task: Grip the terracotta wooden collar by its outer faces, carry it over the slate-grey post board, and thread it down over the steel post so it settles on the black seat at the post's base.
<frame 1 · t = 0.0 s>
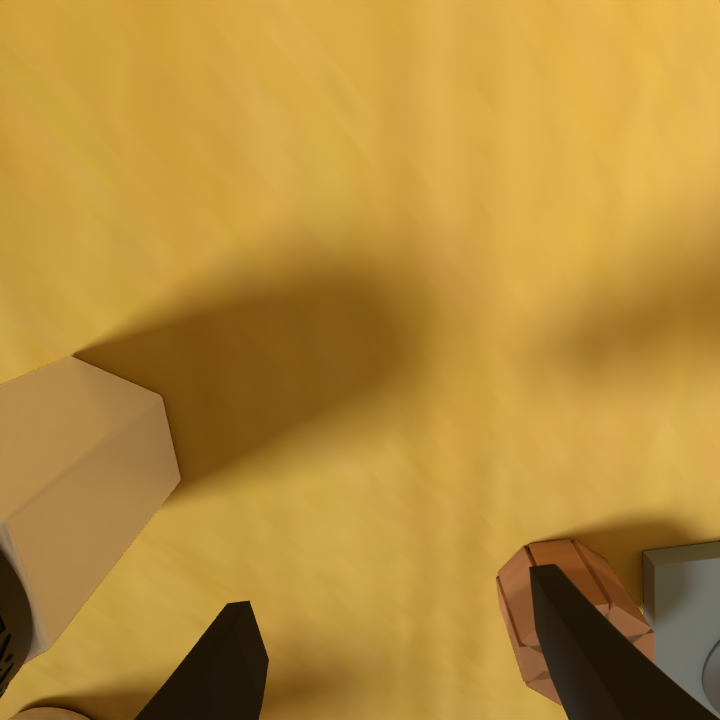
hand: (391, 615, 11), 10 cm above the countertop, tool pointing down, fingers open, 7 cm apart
collar: (552, 585, 23), on the countertop
jar: (99, 440, 22), on the countertop
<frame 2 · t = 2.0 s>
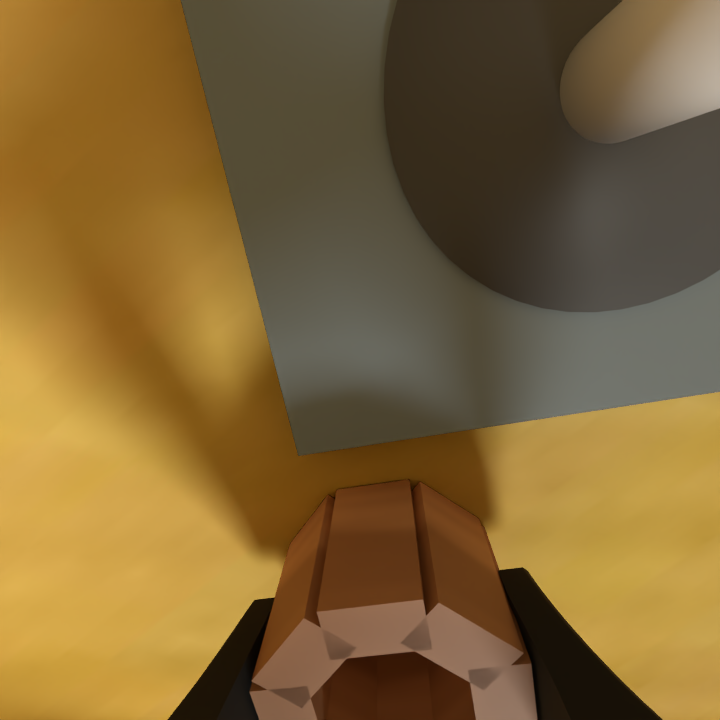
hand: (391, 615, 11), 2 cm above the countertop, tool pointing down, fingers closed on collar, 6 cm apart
post board: (586, 100, 9), on the countertop
collar: (390, 568, 13), on the countertop, touching gripper
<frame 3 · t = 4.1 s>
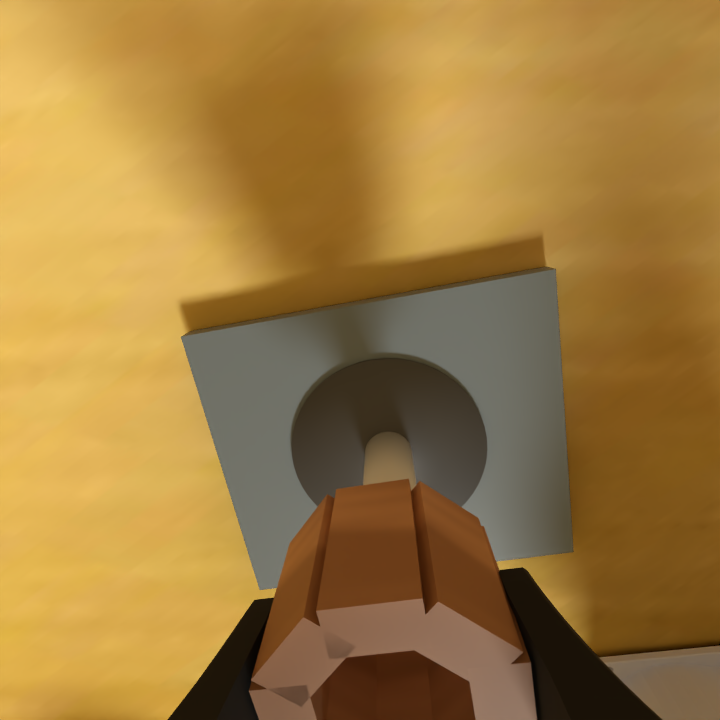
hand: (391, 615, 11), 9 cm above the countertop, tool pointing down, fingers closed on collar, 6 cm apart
post board: (387, 439, 20), on the countertop
collar: (389, 567, 13), point 8 cm above the countertop, touching gripper
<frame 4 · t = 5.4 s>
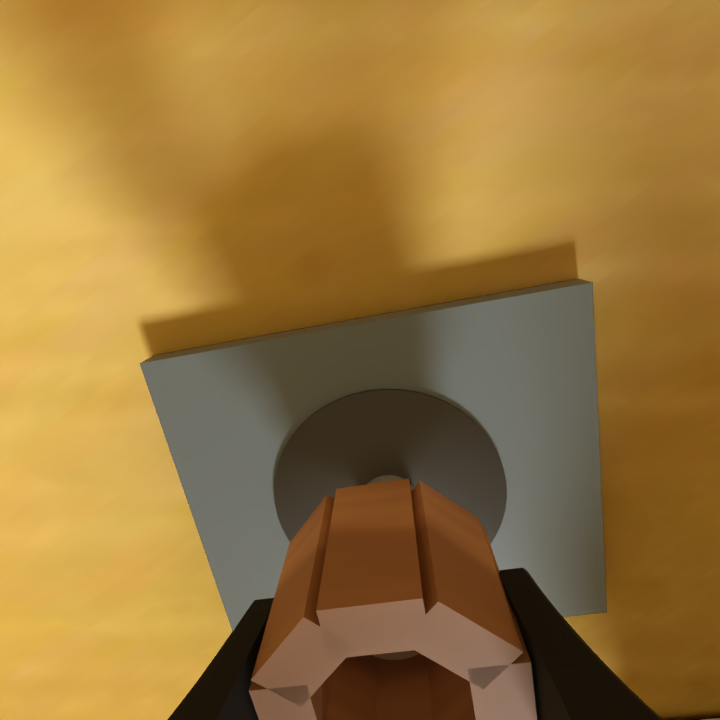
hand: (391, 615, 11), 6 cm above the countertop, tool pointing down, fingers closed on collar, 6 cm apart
post board: (388, 481, 17), on the countertop
collar: (389, 567, 13), point 5 cm above the countertop, touching gripper
when the fingers open (4 cm above the countertop, at t = 6.5 s): collar drops 1 cm, resting on post board.
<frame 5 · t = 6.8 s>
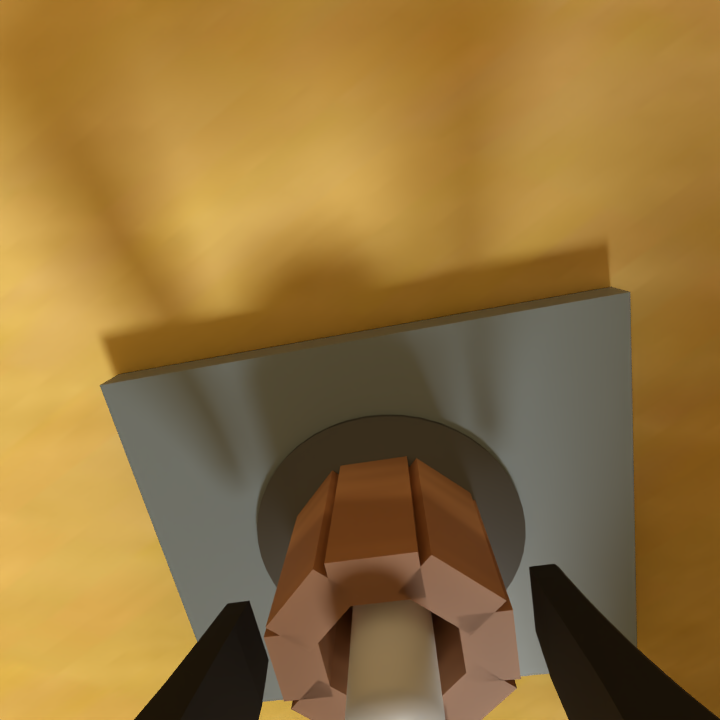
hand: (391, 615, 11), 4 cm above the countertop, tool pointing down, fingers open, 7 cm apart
post board: (388, 516, 15), on the countertop
collar: (389, 539, 14), point 1 cm above the countertop, touching post board
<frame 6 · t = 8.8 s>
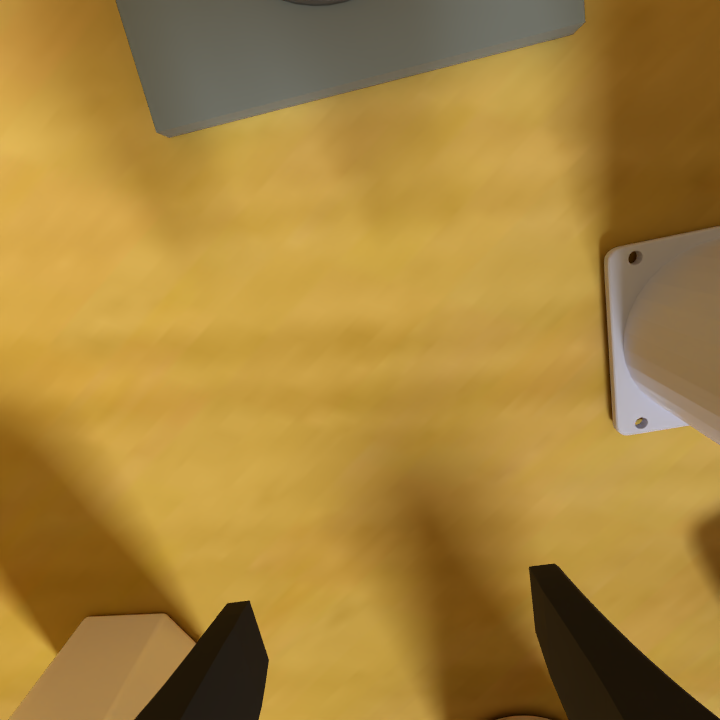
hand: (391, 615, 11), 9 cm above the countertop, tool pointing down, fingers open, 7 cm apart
jar: (145, 663, 25), on the countertop
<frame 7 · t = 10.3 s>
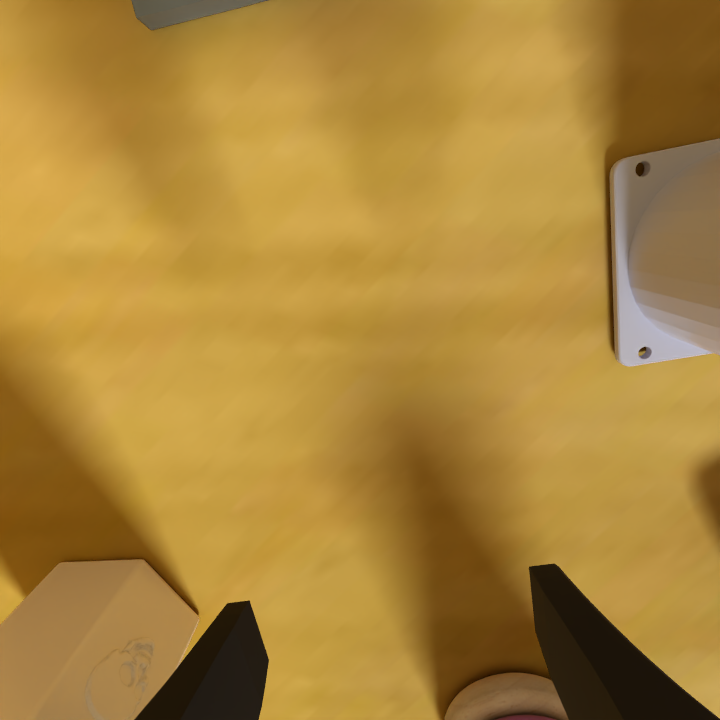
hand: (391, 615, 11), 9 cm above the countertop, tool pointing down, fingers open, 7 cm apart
stacking toy: (511, 712, 25), on the countertop
jar: (122, 614, 24), on the countertop
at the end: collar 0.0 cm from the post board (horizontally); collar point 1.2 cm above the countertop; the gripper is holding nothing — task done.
